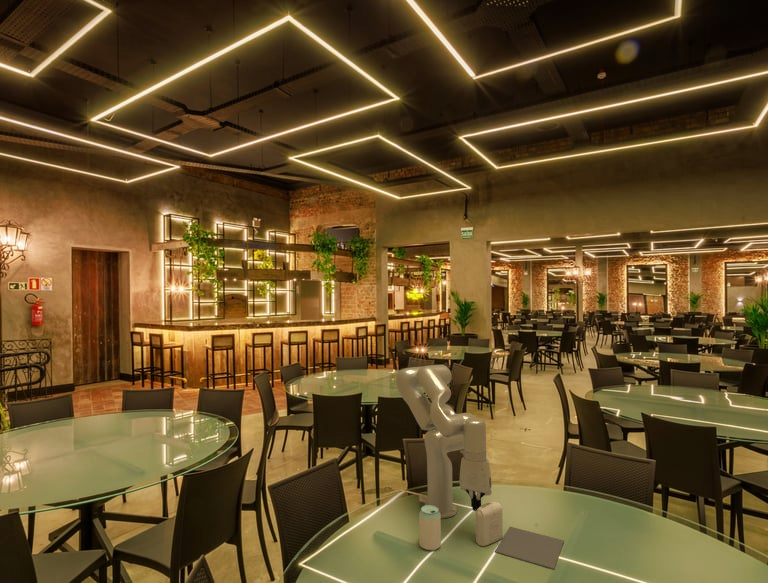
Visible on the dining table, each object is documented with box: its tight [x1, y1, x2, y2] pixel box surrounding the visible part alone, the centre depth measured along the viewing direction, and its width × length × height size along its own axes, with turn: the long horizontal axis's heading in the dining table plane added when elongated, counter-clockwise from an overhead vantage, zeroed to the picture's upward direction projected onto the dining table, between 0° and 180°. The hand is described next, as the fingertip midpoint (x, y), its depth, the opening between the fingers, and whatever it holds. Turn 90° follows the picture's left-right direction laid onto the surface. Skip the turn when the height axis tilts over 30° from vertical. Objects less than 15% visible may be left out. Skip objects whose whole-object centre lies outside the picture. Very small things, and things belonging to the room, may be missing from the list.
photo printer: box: [475, 501, 504, 547], centre depth 146 cm, size 10×4×12 cm, turn 124°
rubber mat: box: [494, 526, 565, 570], centre depth 142 cm, size 18×18×1 cm
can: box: [418, 505, 442, 551], centre depth 143 cm, size 7×7×12 cm
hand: (476, 509), depth 148 cm, fingers closed
